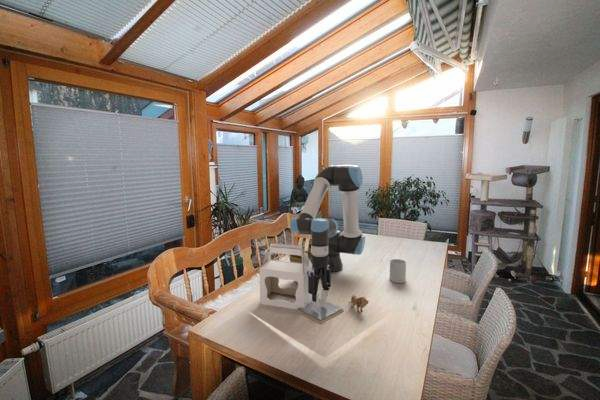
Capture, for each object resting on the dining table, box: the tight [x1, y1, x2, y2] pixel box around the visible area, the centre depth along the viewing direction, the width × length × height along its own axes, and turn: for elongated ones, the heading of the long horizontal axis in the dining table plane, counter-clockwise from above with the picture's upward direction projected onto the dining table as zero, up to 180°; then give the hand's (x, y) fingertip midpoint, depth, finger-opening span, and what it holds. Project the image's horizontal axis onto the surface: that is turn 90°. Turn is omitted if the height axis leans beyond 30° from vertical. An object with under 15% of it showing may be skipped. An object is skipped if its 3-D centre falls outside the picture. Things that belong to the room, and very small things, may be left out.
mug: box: [389, 258, 407, 284], centre depth 163 cm, size 12×8×11 cm
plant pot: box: [288, 250, 313, 284], centre depth 159 cm, size 15×15×16 cm
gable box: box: [258, 242, 312, 310], centre depth 136 cm, size 22×13×28 cm, turn 71°
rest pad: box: [295, 298, 345, 324], centre depth 127 cm, size 15×15×1 cm
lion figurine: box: [348, 294, 369, 314], centre depth 128 cm, size 12×4×7 cm, turn 29°
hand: (319, 305), depth 127 cm, fingers open, 5 cm apart
